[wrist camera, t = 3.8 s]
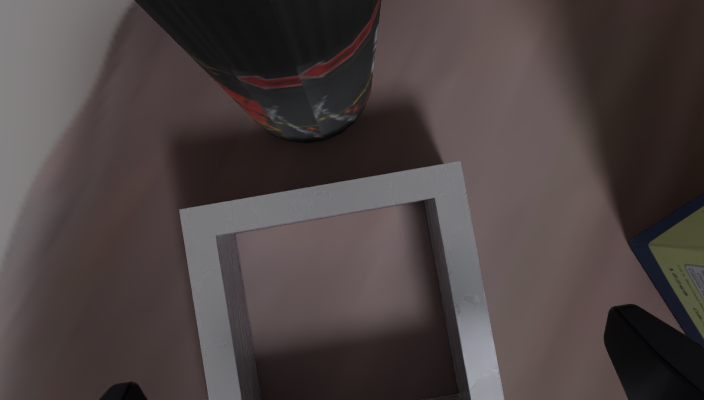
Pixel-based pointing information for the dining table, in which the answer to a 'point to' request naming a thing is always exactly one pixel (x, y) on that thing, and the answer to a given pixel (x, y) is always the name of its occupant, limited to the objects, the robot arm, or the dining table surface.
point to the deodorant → (282, 57)
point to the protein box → (678, 263)
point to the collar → (322, 202)
